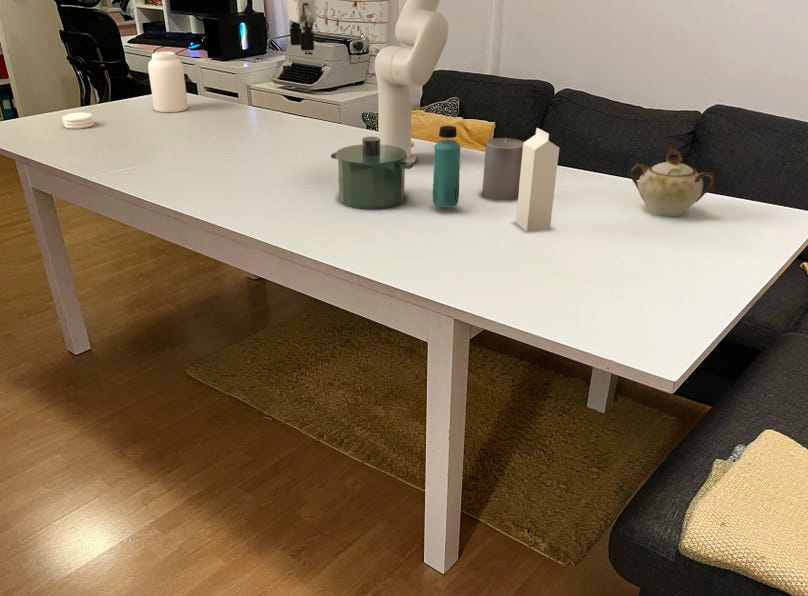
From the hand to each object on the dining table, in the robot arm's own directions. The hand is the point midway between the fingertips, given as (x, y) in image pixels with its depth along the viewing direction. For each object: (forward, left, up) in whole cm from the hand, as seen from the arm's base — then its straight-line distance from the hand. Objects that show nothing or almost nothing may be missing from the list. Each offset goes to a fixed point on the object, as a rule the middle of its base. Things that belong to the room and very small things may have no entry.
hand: (302, 47), depth 188 cm
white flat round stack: (-19, -105, -34) cm, 112 cm away
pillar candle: (-12, +51, -34) cm, 63 cm away
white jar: (-54, -94, -34) cm, 114 cm away
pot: (+5, +22, -34) cm, 41 cm away
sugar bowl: (-19, +91, -34) cm, 99 cm away
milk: (+6, +65, -34) cm, 74 cm away
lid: (+5, +22, -23) cm, 32 cm away
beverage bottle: (+4, +42, -34) cm, 54 cm away
